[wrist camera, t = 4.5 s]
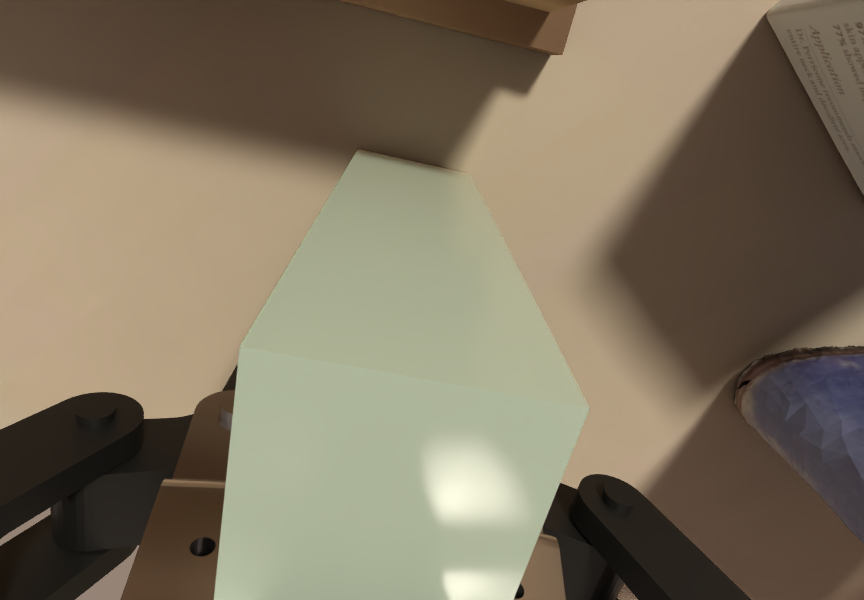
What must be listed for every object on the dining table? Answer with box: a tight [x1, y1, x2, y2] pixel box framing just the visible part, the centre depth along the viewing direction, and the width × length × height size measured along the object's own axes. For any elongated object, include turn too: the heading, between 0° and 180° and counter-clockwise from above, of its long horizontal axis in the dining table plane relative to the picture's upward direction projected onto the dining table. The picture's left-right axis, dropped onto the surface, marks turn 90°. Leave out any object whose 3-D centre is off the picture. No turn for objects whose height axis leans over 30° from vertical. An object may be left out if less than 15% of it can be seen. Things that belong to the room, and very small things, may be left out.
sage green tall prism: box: [214, 149, 590, 600], centre depth 11 cm, size 3×9×10 cm, turn 167°
